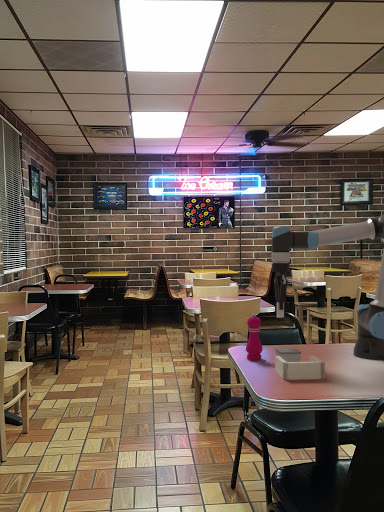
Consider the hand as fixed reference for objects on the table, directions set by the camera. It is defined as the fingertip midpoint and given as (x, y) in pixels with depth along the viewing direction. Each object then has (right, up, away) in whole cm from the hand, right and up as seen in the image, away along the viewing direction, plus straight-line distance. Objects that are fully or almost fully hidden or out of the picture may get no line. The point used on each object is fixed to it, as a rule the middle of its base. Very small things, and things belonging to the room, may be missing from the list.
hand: (280, 317), depth 182 cm
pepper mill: (-11, -19, +2) cm, 22 cm away
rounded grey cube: (+1, -19, -10) cm, 21 cm away
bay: (+2, -18, -23) cm, 30 cm away
